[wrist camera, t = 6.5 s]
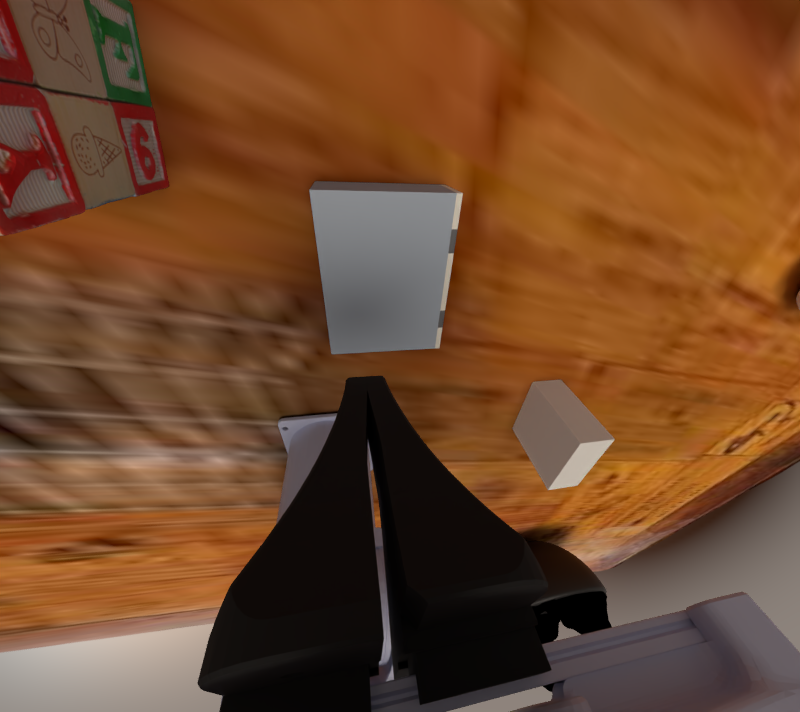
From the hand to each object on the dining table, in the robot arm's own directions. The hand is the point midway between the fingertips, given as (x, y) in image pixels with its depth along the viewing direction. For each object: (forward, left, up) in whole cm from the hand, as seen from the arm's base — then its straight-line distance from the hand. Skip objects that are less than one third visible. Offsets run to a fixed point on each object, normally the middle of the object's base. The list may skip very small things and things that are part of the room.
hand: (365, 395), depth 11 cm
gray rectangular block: (+2, -5, -8) cm, 10 cm away
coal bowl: (-55, -30, -10) cm, 64 cm away
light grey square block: (-13, -18, -10) cm, 24 cm away
